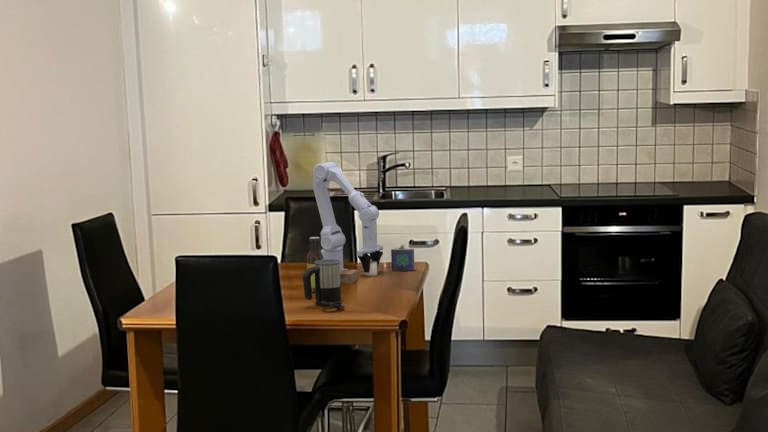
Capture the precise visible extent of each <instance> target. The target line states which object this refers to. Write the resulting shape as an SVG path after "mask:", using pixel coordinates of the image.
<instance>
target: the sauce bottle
mask: <svg viewBox="0 0 768 432" xmlns="http://www.w3.org/2000/svg"><path fill="white" fill-rule="evenodd" d="M308 242H309V252H308V253H307V255H306V262H307V263H306V270H307V269H308V268H310V267H315V263H314V262H315V261H318V260H324V258H323V255H322V252H321V250H322V249H321V236H320V237H319V236H311V237H309V238H308ZM311 289H312V293H315V273H314V274H313V275H312V276H311Z"/></svg>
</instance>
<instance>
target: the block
mask: <svg viewBox="0 0 768 432" xmlns="http://www.w3.org/2000/svg"><path fill="white" fill-rule="evenodd" d="M347 269H348V268H343V269H340V285H341V284H343V285H345V284H346V285H352V284H353V283H355V282H356V281H358V280H359V269H348V270H347Z"/></svg>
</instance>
